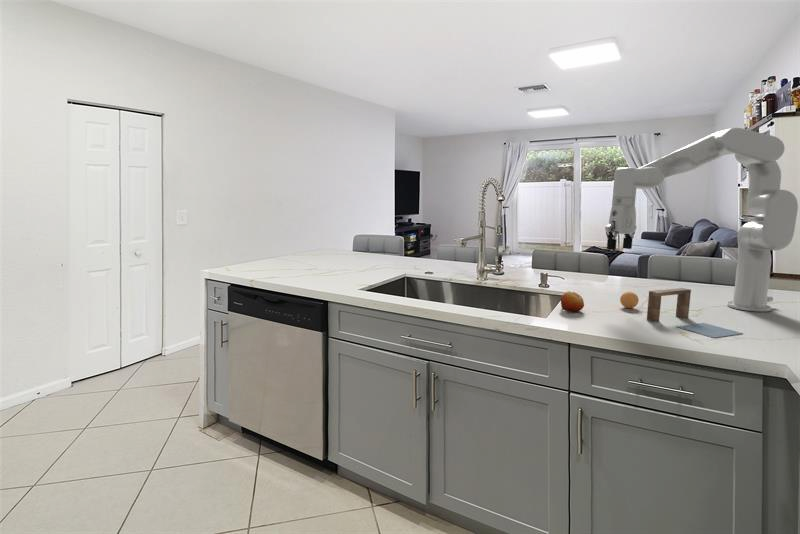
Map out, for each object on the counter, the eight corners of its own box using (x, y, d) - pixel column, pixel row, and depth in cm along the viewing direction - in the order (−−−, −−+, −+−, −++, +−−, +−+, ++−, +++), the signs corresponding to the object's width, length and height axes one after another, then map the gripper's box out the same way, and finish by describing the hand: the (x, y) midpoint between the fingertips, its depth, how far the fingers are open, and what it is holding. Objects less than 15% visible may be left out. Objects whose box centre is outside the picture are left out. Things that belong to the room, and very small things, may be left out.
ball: (628, 305, 167) (629, 289, 167) (641, 309, 162) (643, 292, 161) (615, 306, 165) (617, 290, 165) (628, 310, 160) (630, 294, 159)
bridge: (646, 319, 148) (649, 291, 146) (680, 315, 153) (682, 287, 151) (654, 322, 145) (657, 292, 143) (688, 317, 150) (691, 289, 148)
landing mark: (703, 323, 143) (703, 322, 143) (743, 333, 132) (743, 333, 132) (676, 327, 139) (676, 326, 139) (714, 338, 128) (714, 337, 128)
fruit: (559, 303, 165) (572, 286, 162) (577, 316, 162) (590, 299, 158) (551, 307, 159) (564, 289, 156) (570, 321, 156) (583, 304, 152)
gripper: (618, 202, 155) (614, 251, 157) (647, 202, 163) (642, 249, 166) (599, 202, 161) (595, 249, 164) (627, 202, 170) (623, 247, 172)
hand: (619, 249), depth 165 cm, fingers open, 9 cm apart
